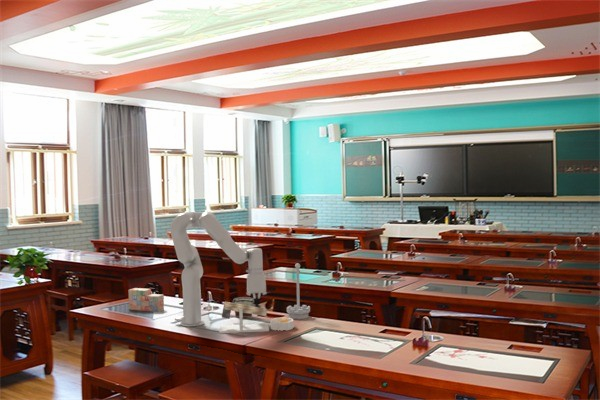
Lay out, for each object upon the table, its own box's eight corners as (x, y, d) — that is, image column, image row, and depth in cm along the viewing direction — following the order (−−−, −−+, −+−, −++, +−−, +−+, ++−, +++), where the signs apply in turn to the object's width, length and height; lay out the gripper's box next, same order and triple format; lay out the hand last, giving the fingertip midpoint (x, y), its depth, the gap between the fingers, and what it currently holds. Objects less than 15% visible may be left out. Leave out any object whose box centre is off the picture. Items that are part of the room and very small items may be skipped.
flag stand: (307, 319, 321) (306, 265, 320) (284, 319, 323) (283, 264, 322) (312, 314, 333) (311, 261, 333) (289, 313, 336) (288, 261, 335)
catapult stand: (219, 333, 294) (218, 311, 294) (220, 327, 306) (219, 306, 306) (269, 331, 297) (268, 309, 296) (267, 325, 309) (267, 304, 308)
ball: (283, 318, 301) (290, 322, 302) (283, 316, 305) (289, 320, 306) (279, 325, 301) (286, 328, 302) (279, 323, 305) (285, 327, 306)
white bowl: (271, 331, 297) (270, 323, 297) (269, 325, 309) (269, 317, 309) (294, 330, 298) (294, 322, 298) (292, 324, 310) (292, 317, 310)
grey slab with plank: (221, 317, 297) (224, 304, 297) (222, 310, 314) (225, 297, 314) (264, 324, 299) (266, 311, 299) (263, 316, 317) (265, 304, 317)
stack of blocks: (164, 309, 352) (163, 289, 352) (157, 312, 346) (157, 291, 346) (135, 307, 361) (134, 287, 360) (128, 309, 355) (128, 289, 354)
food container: (256, 314, 336) (256, 297, 335) (254, 316, 330) (254, 299, 329) (235, 314, 337) (234, 296, 337) (232, 316, 331) (232, 299, 330)
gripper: (241, 273, 309) (243, 307, 309) (270, 271, 310) (271, 306, 311) (241, 271, 316) (243, 304, 317) (269, 269, 318) (270, 303, 318)
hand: (257, 305), depth 314 cm, fingers closed
